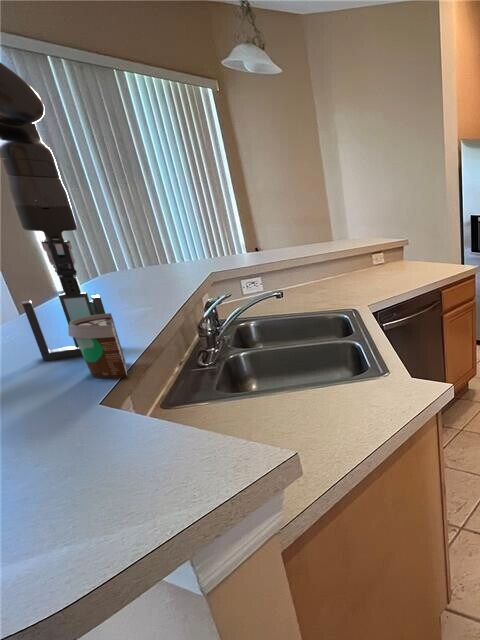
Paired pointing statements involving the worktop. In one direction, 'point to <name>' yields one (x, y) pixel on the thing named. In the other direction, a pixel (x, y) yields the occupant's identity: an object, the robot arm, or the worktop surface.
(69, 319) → the sash
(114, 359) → the food container
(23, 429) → the worktop surface
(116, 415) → the worktop surface
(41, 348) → the window frame
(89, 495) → the worktop surface
